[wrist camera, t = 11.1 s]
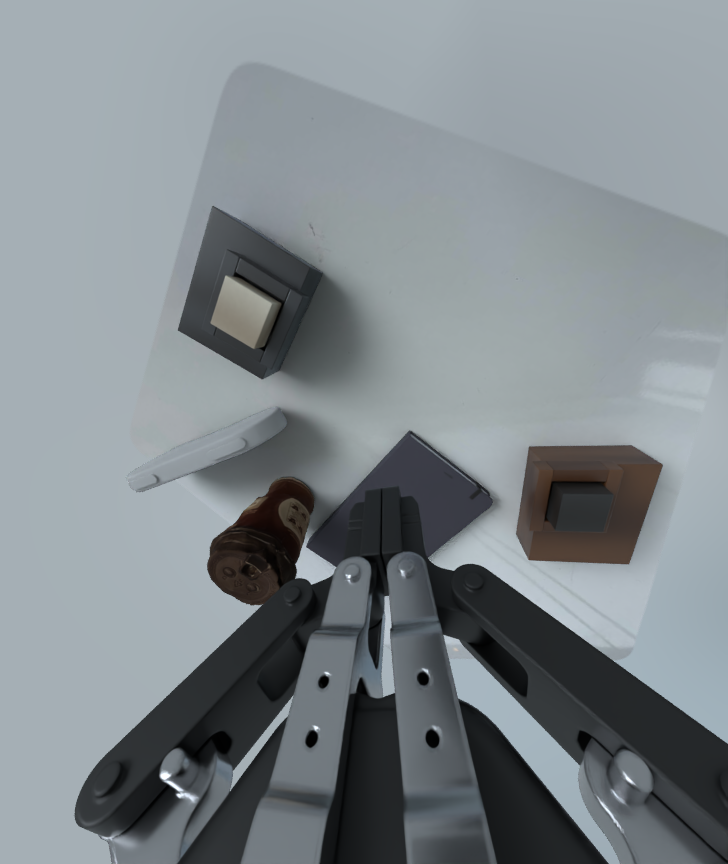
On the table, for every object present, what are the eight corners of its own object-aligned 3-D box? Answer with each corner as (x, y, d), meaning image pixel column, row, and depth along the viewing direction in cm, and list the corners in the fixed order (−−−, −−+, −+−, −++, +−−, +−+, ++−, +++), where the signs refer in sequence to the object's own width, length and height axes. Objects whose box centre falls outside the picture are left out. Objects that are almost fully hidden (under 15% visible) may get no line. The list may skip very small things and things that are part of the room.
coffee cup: (316, 465, 37) (273, 541, 25) (332, 520, 40) (300, 611, 28) (252, 473, 39) (184, 547, 27) (272, 525, 42) (218, 613, 30)
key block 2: (517, 442, 33) (539, 470, 27) (632, 441, 31) (681, 470, 26) (505, 533, 37) (522, 573, 32) (605, 536, 36) (641, 578, 30)
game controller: (173, 466, 40) (118, 504, 32) (163, 452, 39) (104, 486, 32) (299, 416, 35) (269, 447, 27) (289, 399, 34) (256, 425, 26)
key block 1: (238, 219, 28) (197, 197, 22) (331, 278, 29) (314, 271, 23) (204, 327, 32) (163, 331, 27) (286, 375, 33) (263, 389, 28)
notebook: (409, 429, 34) (309, 538, 42) (410, 435, 32) (305, 547, 40) (492, 494, 35) (380, 586, 43) (496, 502, 34) (380, 596, 42)
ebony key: (552, 481, 28) (562, 494, 26) (599, 481, 27) (614, 494, 25) (545, 516, 29) (555, 531, 27) (590, 517, 29) (603, 532, 27)
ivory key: (239, 277, 25) (225, 274, 23) (282, 303, 25) (272, 303, 23) (223, 322, 26) (209, 323, 24) (264, 346, 26) (254, 349, 25)
